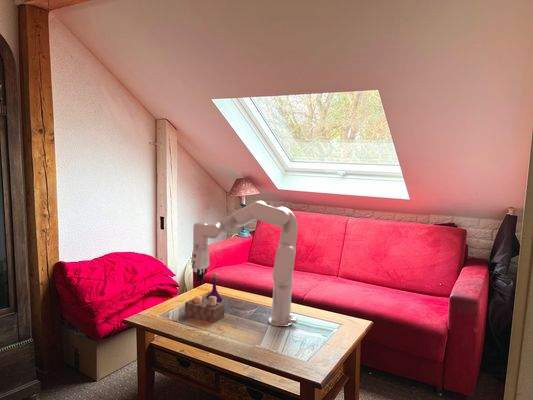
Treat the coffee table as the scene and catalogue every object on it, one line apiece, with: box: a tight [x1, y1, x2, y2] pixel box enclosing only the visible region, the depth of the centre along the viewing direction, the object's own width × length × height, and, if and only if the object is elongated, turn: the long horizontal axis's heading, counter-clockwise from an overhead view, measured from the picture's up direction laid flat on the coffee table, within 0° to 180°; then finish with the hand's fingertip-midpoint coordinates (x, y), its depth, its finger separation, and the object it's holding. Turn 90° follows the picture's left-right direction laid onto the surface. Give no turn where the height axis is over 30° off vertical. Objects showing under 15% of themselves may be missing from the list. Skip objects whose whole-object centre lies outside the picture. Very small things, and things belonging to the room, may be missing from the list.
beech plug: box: [208, 296, 217, 307], centre depth 208 cm, size 4×4×7 cm
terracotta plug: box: [193, 295, 203, 304], centre depth 212 cm, size 4×4×7 cm
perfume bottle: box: [205, 272, 223, 303], centre depth 229 cm, size 8×8×18 cm
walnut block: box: [184, 298, 226, 324], centre depth 211 cm, size 18×10×7 cm, turn 64°
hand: (199, 280), depth 211 cm, fingers closed
